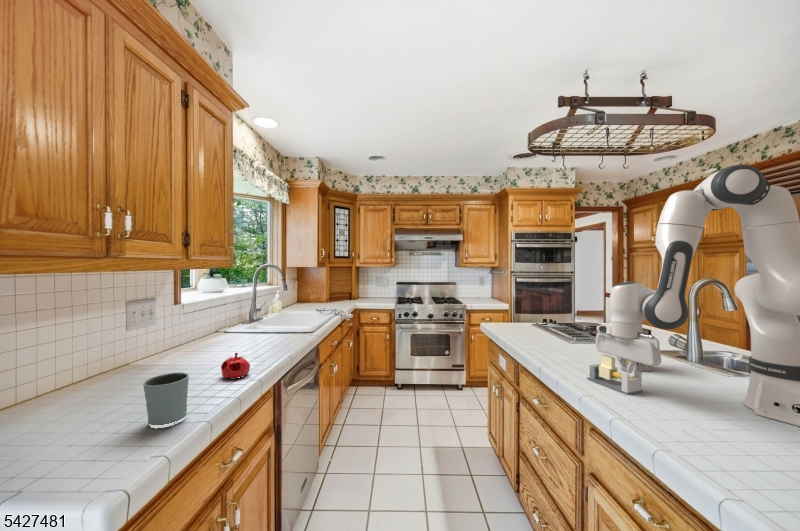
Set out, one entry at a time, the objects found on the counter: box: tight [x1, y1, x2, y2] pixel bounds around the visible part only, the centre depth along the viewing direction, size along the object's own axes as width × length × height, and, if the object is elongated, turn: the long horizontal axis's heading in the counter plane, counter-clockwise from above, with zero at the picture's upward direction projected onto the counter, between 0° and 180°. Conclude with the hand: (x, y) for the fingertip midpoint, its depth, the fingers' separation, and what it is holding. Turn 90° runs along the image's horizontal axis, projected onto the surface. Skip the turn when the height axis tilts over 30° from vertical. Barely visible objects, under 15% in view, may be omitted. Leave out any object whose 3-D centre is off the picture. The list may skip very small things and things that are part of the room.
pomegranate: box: [220, 352, 251, 379], centre depth 126 cm, size 10×10×9 cm
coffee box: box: [624, 327, 652, 372], centre depth 132 cm, size 9×6×16 cm
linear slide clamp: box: [586, 363, 643, 396], centre depth 114 cm, size 15×7×7 cm, turn 18°
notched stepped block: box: [599, 354, 619, 380], centre depth 116 cm, size 4×4×7 cm
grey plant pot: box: [142, 372, 190, 425], centre depth 90 cm, size 10×10×12 cm
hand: (626, 371), depth 110 cm, fingers closed
